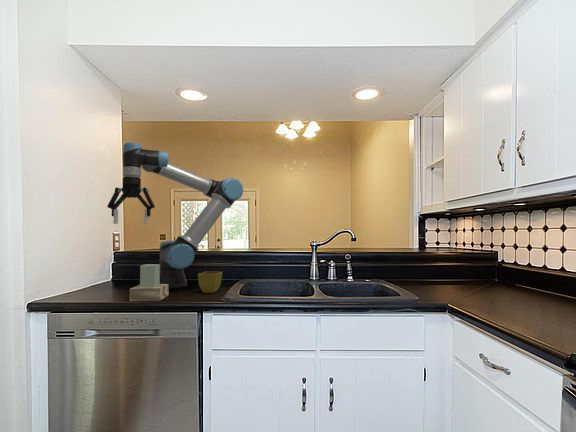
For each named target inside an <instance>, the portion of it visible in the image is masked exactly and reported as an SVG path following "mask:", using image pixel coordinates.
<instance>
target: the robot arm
mask: <svg viewBox="0 0 576 432" xmlns="http://www.w3.org/2000/svg"><path fill="white" fill-rule="evenodd" d="M169 157H170V156H169V153H168V152H167V151H163V150H153V149H144V148H143V147H142V145H141V143H138V142H131V141H129V142H125V143H124V144H123V150H122V176H123V177H122V187H115V188H114V192H113V194H112V197H111V199H110V200H109V202H108V204H107V206H106V208H108V209H111V216H112V217H113V221H112V222H113V225H118V224H119V209H118V208H119V206H121V204H122V203H124V201H125V199H127V198H128V199H129V198H131V199H132V198H134V199H135V198H137V199H138V201H139V202H140V203H141V204H142V205H143V206H144V208H145V209H144V220H143V221H144V222H143V223H144V225H148V224H149V217H151V215H152V214H151V211H152V209H154V208H155V207H156V206H155V203H154V201H153V200H152V197H151V196H150V194H149V189H148V188H147V187H145V186H144V187H142V178H141V176H142V170H144V172H147V173H153V174H157V175H159V176H162V177H164V178H166V179H169V180H171V181H174V182H175V183H179V184H181V185H183V186H187V187H189V188H191V189H194V190H195V191H199V192H201V193H202V194H203V196H206V197H208V198H211V199H210V201H209V202H208V203H207V204H206V206H205V207H204V208H203V210H202V211H201V212H200V213H199V214H198V216H197V217H196V219H194V221H193V222H192V224H191V225H190V226H189V227H188V229H187V230H186V231H185V232H184V234H183V235H179V236H178V235H177V238H176V239H174V240H165V241H162V242H161V243H160V244H159V264H160V284H169V289H178V288H184V287H187V286H188V281H187V278H186V275H185V272H184V269H185V268H188V267H189V266H191V264H192V263H193V261H194V259H195V255H196V254H197V252H198V251H199V245H200V243H201V242H202V241H203V239H204V238H205V236H206V235H207V234H208V233H209V231H210V230H211V229H212V227H213V226H214V225H215V223H216V222H217V221H218V220H219V218H220V217H221V215H222V214H223V213H224V212H225V210H226V209H230V208H231V207H232V206H233V204H234V203H235V202H236V201H237V200H239V199H240V198H242V196H243V194H244V188H243V187H244V186H243V184H242V182H241V181H240V180H239V179H238V178H234V177H227V178H225V179H223V180H215V179H212V178H209V179H207V178H205V177H203V176H200V175H198V174H196V173H193V172H191V171H189V170H186V169H184V168H182V167H179V166H177V165H174V164H172V163H170V162H169V159H170V158H169ZM141 193H143V194H144V196H145V198H143V196H142V195H141ZM120 194H121V195H120ZM119 195H120V197H119ZM118 197H119V198H118ZM145 199H146V200H145Z"/></svg>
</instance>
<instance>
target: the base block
mask: <svg viewBox="0 0 576 432" xmlns="http://www.w3.org/2000/svg"><path fill="white" fill-rule="evenodd" d="M169 289H170V288H169V284H159V286H157V287H143V288H140V284H138V285H136V286H133V287H131V288H129V298H128V299H129V302H159V301H162V300H163V299H165V298H167V297H168V296H169V292H170V290H169Z"/></svg>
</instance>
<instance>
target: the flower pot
mask: <svg viewBox="0 0 576 432" xmlns="http://www.w3.org/2000/svg"><path fill="white" fill-rule="evenodd" d="M222 278H223V271H202V272H199V273H197V280H198V286H199V288H200V290H201V291H202V293H205V294H207V293H208V294H213V293H216V292H218V290H219V288H220V287H221V284H222Z"/></svg>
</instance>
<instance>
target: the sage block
mask: <svg viewBox="0 0 576 432" xmlns="http://www.w3.org/2000/svg"><path fill="white" fill-rule="evenodd" d="M139 269H140V271H139V273H140V274H139V285H140V288H143V287H157V286H159V284H160V263H159V264H158V263H155V264H152V263H148V264H147V263H146V264H145V263H144V264H141V265H140V267H139Z"/></svg>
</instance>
